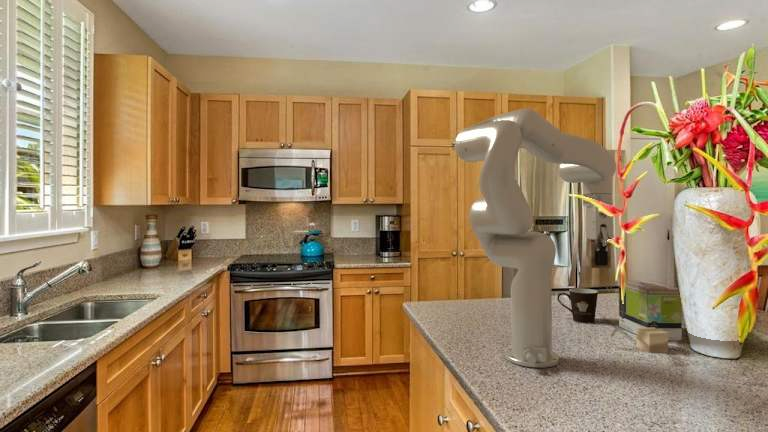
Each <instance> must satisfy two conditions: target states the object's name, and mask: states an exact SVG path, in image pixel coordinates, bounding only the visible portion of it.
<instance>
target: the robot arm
mask: <svg viewBox="0 0 768 432" xmlns="http://www.w3.org/2000/svg"><path fill="white" fill-rule="evenodd" d="M520 148H523V149H525V150H526V151H527V152H529V153H531V154H532V155H533V156H535V157H536V158H537V159H538V160H540V161H543V162H545V163H551V164H559V166H558V168H557V169H558V175H559V177H560V179H562V180H563V181H565V182H567V183H570V184H578V183H582V197H583V196H585V197H589V198H592V199H595V200H598V201H601V202H603V203H606V204H609V205H611V206H613V177H614V176H615V174H616V170H617V161H616V159H615V157H614V156H613V154H612V153H611V152H610V151H609V150H608V149H607V148H606V147H604V146H603V145H602V144H601V143H599V142H597V141H594V140H592V139H588V138H585V137H581V136H577V135H574V134H570V133H566V132H563V131H562V130H560V129H559V128H558V127H556V126H555V125H554V124H552V123H551V122H550V121H549V120H547V119H546V118H545V117H544V116H542V115H541V114H540V113H538V112H537V111H535V110H534V109H531V108H521V109H516V110H513V111H508V112H504V113H499V114H497V115H494V116H492V117H489V118H487V119H485V120H483V121H480V122H478V123H475V124H473V125H470V126H468V127H465V128H463V129H462V130H460V131H459V133H458V134H457V136H456V137H455V139H454V150H455V153H456V155H457V157H458V158H460V159H461V161H464V162H466V163H476V162H483V164H482V167H481V168H480V173H479V177H478V188H479V191H480V194H481V196H482V197H480V198H478V199H476V200H475V201H474V202H473V203H472V204H471V206H470V209H469V215H468V216H469V224H470V227H471V230H472V231H473V233H474V235H475V237H476V239H477V242H479V244H480V246H481V247H482V248H481V249H482V250H483V252H484V254H485V255H486V257H487V258H488V259H489V261H490V262H491V263H493V264H494V265H496V266H499V267H504V268H505V267H506V268H510V269H511V268H512V269H517V272H516V274H515V275H514V277H513V279H512V281H511V285H510V320H511V321H510V324H511V325H510V326H511V327H510V332H511V333H510V335H511V337H510V338H511V339H510V340H511V342H510V343H511V345H510V347H509V348H507V349H506V350H505V351H504V357H505V358H506V360H507V361H508V362H510V363H512V364H515V365H518V366H523V367H528V368H536V369H537V368H539V369H541V368H550V367H554V366H557V365H558V364H559V363H560V356H559V355H558V354H557V353H556V352H554V351H553V328H552V327H553V326H552V325H553V324H552V323H553V321H552V320H553V319H552V318H553V314H552V312H553V311H552V309H553V307H552V280H553V268H554V265H555V260H556V254H557V253H556V251H557V250H556V245H555V241H554V240H553V238H552V237H550V236H549V235H547V234H546V233H543V232H539V231H530V230H531V229H532V227H533V224H534V216H533V213H532V209H531V208H530V205H529V203H528V201H527V199H526V197H525V195H524V193H523V191H522V188H521V187H520V184H519V182H518V179H517V176H516V169H515V168H516V162H517V157H518V154H519V151H520ZM582 206H583V207H586V208H585V209H586V210H585V237H586V238H587V239H588V242H595V245H596V251H595V265H599V266H607V265H608V246H607V245H608V243H609V241H608V242H607V240H608V239H612V238H613V239H614V223H613V216H612V217H610V216H607V215H605V214H604V213H602V212H599V211H598V209H597V208H596V207H595V206H594V205H593V204H591V203H589V202H587V201H585V200H583V199H582ZM613 239H612V240H613ZM605 241H606V242H605Z"/></svg>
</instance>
